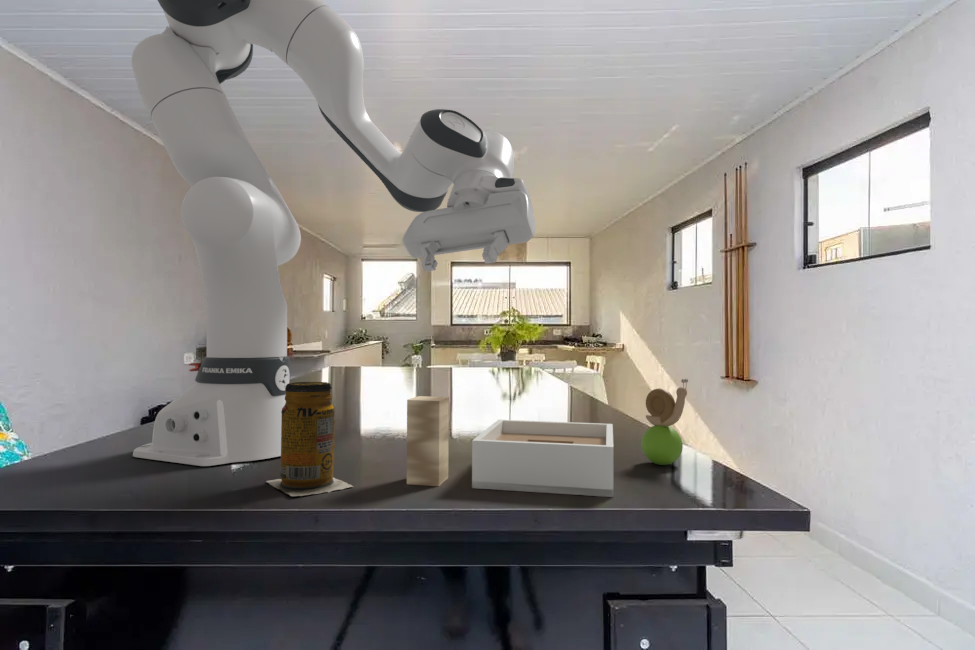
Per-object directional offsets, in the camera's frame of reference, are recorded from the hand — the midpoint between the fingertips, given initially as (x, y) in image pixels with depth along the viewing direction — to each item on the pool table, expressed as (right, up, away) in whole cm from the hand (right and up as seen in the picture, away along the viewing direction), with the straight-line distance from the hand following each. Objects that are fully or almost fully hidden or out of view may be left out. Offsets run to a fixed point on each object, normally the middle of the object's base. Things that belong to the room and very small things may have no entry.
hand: (457, 263), depth 81 cm
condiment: (-17, -28, -14) cm, 35 cm away
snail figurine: (+28, -28, -3) cm, 40 cm away
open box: (+12, -28, -9) cm, 31 cm away
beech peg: (-3, -28, -11) cm, 30 cm away
